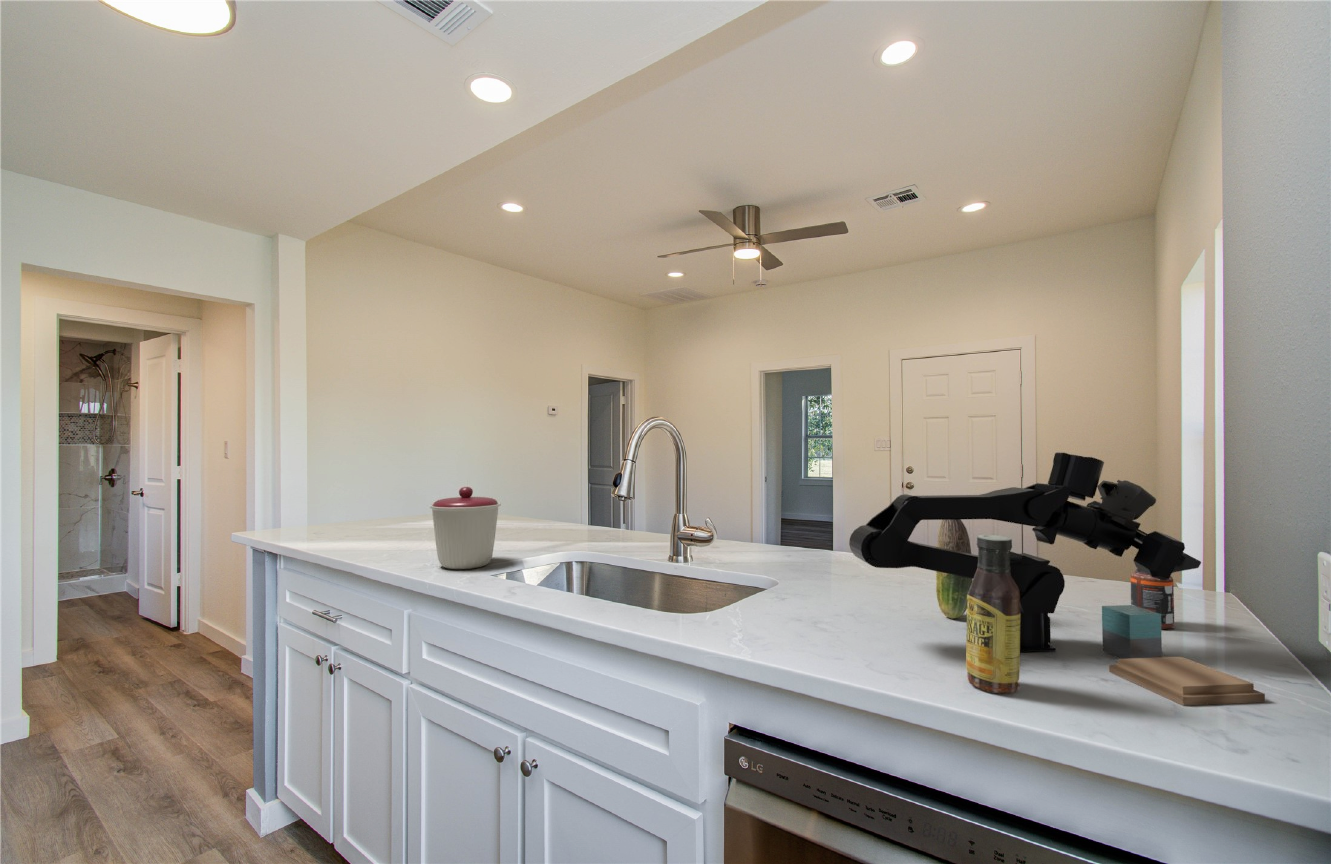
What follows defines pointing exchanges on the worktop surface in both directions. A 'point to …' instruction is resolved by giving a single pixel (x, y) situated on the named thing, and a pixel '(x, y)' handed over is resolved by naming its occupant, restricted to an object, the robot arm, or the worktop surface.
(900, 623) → the worktop surface
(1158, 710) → the worktop surface
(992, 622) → the sauce bottle
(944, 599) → the vegetable
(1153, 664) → the walnut stand
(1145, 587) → the supplement bottle
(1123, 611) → the teal and grey block
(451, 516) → the canister
